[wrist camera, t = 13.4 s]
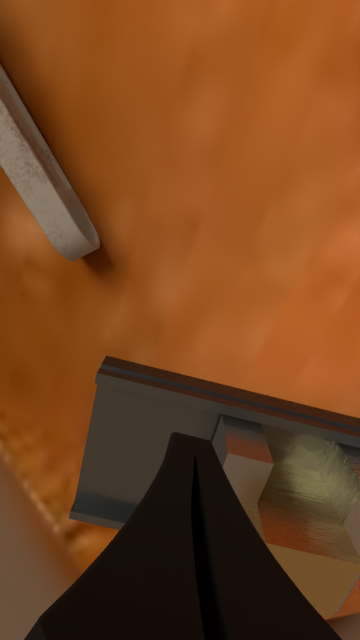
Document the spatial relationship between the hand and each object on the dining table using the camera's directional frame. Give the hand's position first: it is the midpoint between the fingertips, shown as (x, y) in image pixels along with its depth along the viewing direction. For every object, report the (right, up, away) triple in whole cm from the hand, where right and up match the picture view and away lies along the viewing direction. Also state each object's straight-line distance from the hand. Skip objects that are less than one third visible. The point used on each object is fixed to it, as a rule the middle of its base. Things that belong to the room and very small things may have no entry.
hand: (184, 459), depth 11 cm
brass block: (+6, -7, +11) cm, 14 cm away
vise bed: (+2, -5, +12) cm, 13 cm away
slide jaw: (+3, -6, +11) cm, 12 cm away
